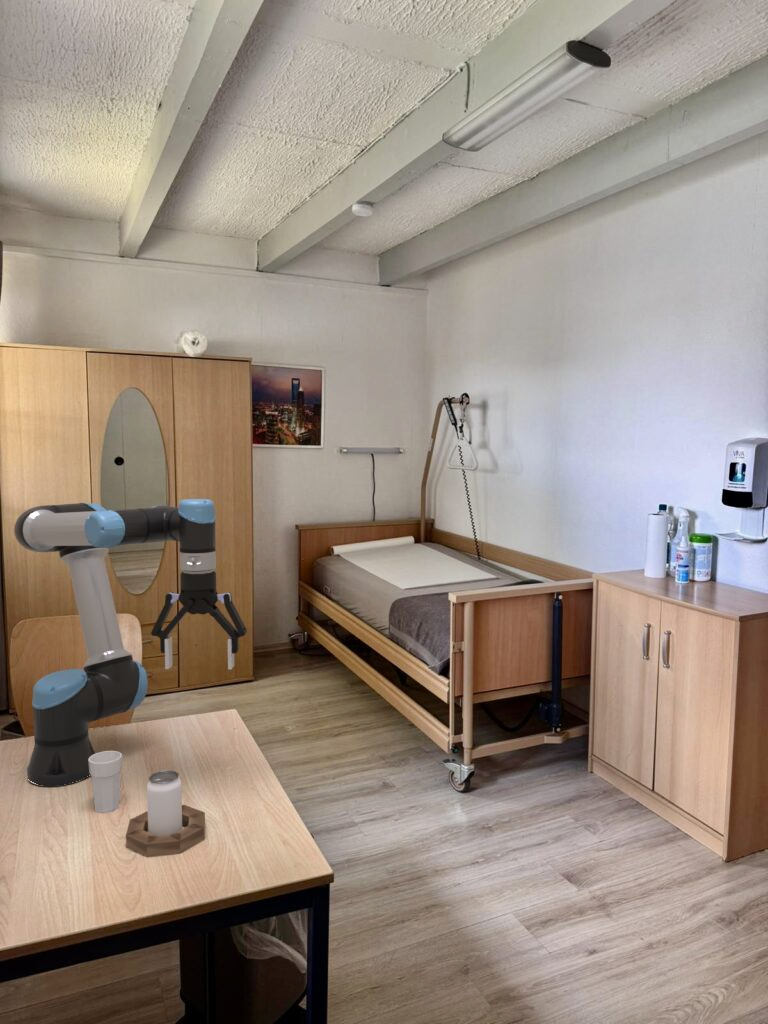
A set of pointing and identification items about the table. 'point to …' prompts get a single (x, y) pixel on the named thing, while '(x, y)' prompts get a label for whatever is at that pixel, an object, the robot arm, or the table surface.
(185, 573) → the robot arm
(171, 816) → the can
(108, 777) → the cup
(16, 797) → the table surface
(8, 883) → the table surface
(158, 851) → the brown octagonal frame
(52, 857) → the table surface
